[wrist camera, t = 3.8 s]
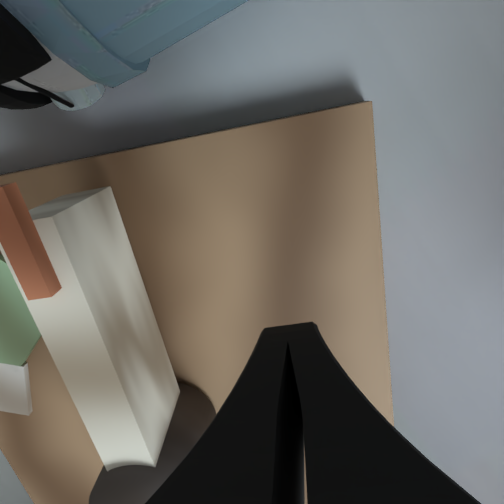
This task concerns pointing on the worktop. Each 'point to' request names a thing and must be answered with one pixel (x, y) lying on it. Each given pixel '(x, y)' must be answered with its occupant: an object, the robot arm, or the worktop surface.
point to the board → (213, 271)
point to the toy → (88, 45)
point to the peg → (103, 337)
